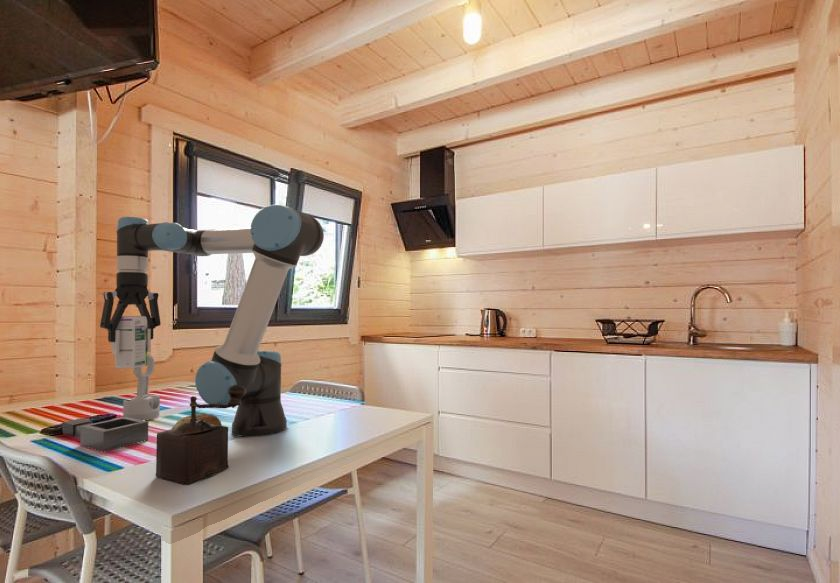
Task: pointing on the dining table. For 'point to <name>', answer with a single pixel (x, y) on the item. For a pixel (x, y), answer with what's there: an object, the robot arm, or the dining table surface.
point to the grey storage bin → (107, 432)
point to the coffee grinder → (195, 445)
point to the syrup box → (132, 342)
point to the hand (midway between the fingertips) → (131, 352)
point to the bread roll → (205, 417)
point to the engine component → (143, 396)
